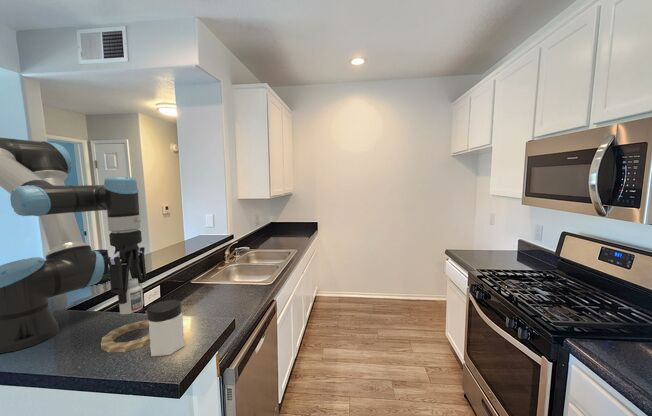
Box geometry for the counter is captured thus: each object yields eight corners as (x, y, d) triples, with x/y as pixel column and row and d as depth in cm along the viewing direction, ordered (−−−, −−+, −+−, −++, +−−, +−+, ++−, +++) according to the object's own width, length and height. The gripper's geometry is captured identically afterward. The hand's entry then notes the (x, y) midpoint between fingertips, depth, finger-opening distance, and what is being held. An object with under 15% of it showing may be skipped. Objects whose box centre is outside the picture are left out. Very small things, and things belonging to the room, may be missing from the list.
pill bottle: (124, 308, 84) (121, 279, 84) (144, 304, 86) (142, 276, 86) (119, 315, 80) (116, 284, 79) (141, 311, 82) (138, 281, 81)
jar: (190, 338, 82) (187, 298, 81) (178, 355, 74) (175, 311, 73) (157, 340, 82) (154, 300, 81) (142, 358, 74) (138, 313, 73)
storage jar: (110, 277, 142) (107, 248, 141) (111, 282, 134) (108, 251, 133) (84, 282, 135) (81, 251, 134) (83, 287, 128) (80, 255, 127)
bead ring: (87, 354, 76) (87, 348, 76) (123, 326, 91) (123, 321, 91) (146, 350, 77) (146, 345, 77) (172, 323, 92) (172, 319, 92)
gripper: (118, 235, 72) (126, 322, 74) (155, 225, 91) (161, 296, 92) (87, 236, 72) (96, 325, 74) (131, 226, 90) (137, 297, 92)
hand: (132, 308), depth 83 cm, fingers closed on pill bottle, 5 cm apart
